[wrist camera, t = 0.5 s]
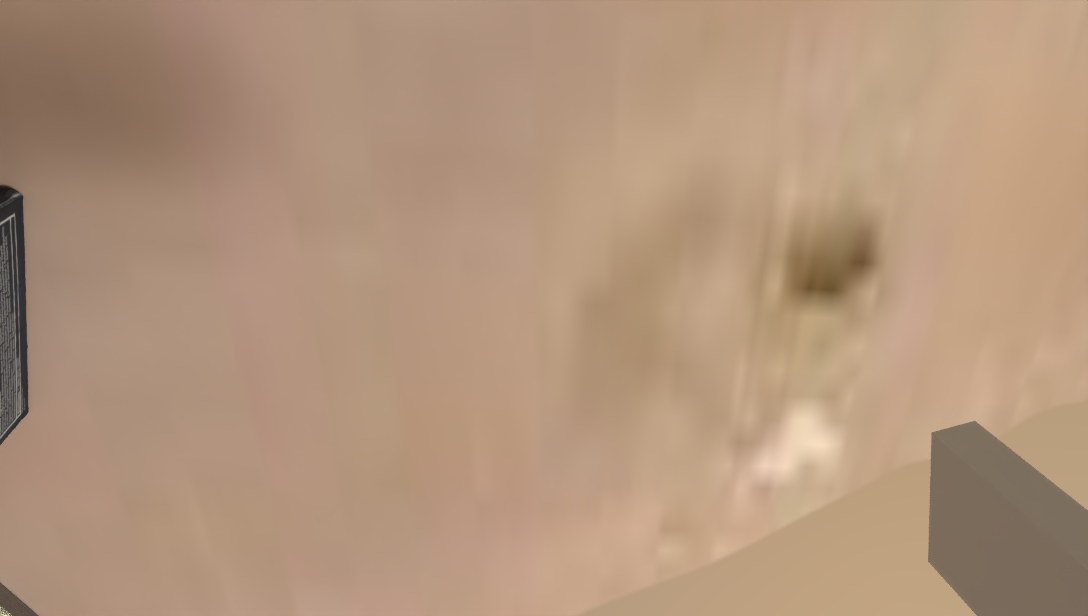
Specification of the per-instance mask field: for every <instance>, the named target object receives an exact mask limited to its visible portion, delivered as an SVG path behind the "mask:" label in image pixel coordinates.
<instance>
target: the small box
mask: <svg viewBox="0 0 1088 616" xmlns="http://www.w3.org/2000/svg"><path fill="white" fill-rule="evenodd" d="M27 347H28V346H27V324H26V284H25V246H24V223H23V195H22V194H20V193H19V192H18V191H16V190H14V189H7V188H5V187H4V188H2V187H0V445H1V444H2V443H3V441H4V440H5V439H6V438H7V437H8V435H9V434H10V433H11V432H12V430H13V429H14V428H15V427H16V426H17V425H18V424H19V422H20V421H21V420H22V419H23V418H24V417H25V416H26V415H27V414H28V371H27Z"/></svg>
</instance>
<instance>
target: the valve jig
mask: <svg viewBox="0 0 1088 616" xmlns="http://www.w3.org/2000/svg"><path fill="white" fill-rule="evenodd" d="M0 616H38V615H37V614H36V613H34V612H33V611H32V610H31V609H30V608H29V607H27V606H26V605H25V604H24V603H23V602H22V601H21V600H19V599H18V598H17V597H16V596H15V595H14V594H12V593H11V592H10V591H9V590H8V589H7V588H5V587H4V586H3V585H2V584H1V583H0Z"/></svg>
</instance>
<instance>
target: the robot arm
mask: <svg viewBox="0 0 1088 616" xmlns="http://www.w3.org/2000/svg"><path fill="white" fill-rule="evenodd" d="M930 478H931V479H930V515H929V553H928V562H930V564H931V565H932V566H933V567H934V568H935V569H936V570H937V571H938V573H939V574H940V575H941V576H942V577H943V578H944V579H945V580H946V582H947V583H948V584H949V585H950V586H951V587H952V588H953V589H954V590H955V592H957V594H958V595H959V596H960V597H961V598H962V599H963V600H964V602H965V603H966V604H967V605H968V606H969V607H970V608H971V609H972V611H973V612H974V613H975V614H976V615H977V616H1088V510H1086V509H1085V508H1084V507H1083V506H1081V505H1080V504H1079V503H1077V502H1076V501H1075V500H1074V499H1073V498H1071V497H1070V496H1069V495H1068V494H1066V493H1065V492H1064V491H1062V490H1061V489H1060V488H1059V487H1057V486H1056V485H1055V484H1054V483H1052V482H1051V481H1050V480H1048V479H1047V478H1046V477H1045V476H1044V475H1042V474H1041V473H1040V472H1039V471H1037V470H1036V469H1035V468H1034V467H1032V466H1031V465H1030V464H1028V463H1027V462H1026V461H1025V460H1023V459H1022V458H1021V457H1020V456H1018V455H1017V454H1016V453H1015V452H1013V451H1012V450H1011V449H1010V448H1008V447H1007V446H1006V445H1005V444H1003V443H1002V442H1001V441H1000V440H998V439H997V438H996V437H995V436H993V435H992V434H991V433H989V432H988V431H987V430H986V429H984V428H983V427H982V426H981V425H979V424H978V423H977V422H976V421H973V422H969V423H966V424H962V425H958V426H954V427H951V428H947V429H943V430H940V431H936V432H932V440H931V477H930Z"/></svg>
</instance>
